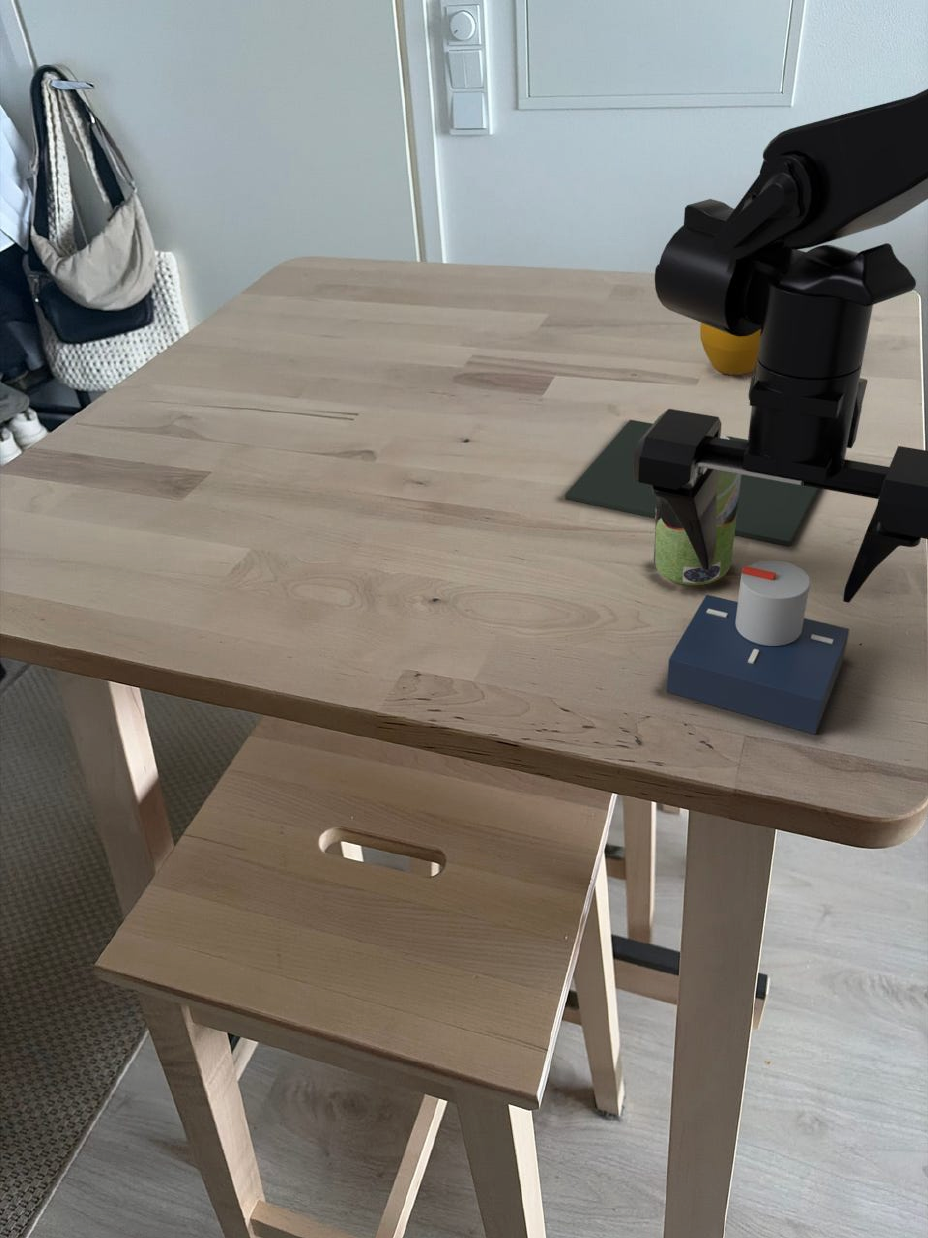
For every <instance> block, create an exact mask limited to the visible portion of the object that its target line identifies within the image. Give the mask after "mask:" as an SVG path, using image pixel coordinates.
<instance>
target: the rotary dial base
mask: <svg viewBox="0 0 928 1238" xmlns="http://www.w3.org/2000/svg"><path fill="white" fill-rule="evenodd" d="M737 606H738V601H735V600H731V599H728V598H727V599H726V598H723V597H719V596H714V595H711V594H706V595H705V596H704V598H703V599H702V601H701V603H700V605H699V607H698V608H697V610H696V612H695V613H694V615H693V616H692V619H691V620H690V622H689V624H688V626H687V627H686V629H685V631H684V632H683V634H682V636H681V638H680V639H679V640H678V643H677V644H676V646H675V647H674V649H673V651H672V653H671V654H670V656H669V658H668V666H667V667H668V668H667V680H666V693H668V694H672V695H676V696H679V697H682V698H685V699H690V700H693V701H696V702H700V703H703V704H707V705H710V706H714V707H717V708H721V709H724V710H728V711H731V712H735V713H738V714H741V715H744V716H748V717H752V718H756V719H759V720H763V721H766V722H770V723H772V724H777V725H779V726H783V727H787V728H790V729H793V730H797V731H801V732H804V733H808V734H811V735H816V734H817V730H818V728H819V726H820V723H821V720H822V718H823V715H824V712H825V710H826V707H827V704H828V702H829V699H830V697H831V694H832V691H833V689H834V687H835V683H836V681H837V678H838V675H839V672H840V670H841V668H842V665H843V662H844V658H845V653H846V647H847V643H848V638H849V634H850V628H847V627H845V626H844V627H843V626H840V625H835V624H831V623H827V622H823V621H819V620H818V621H817V620H815V619H811V618H806V617H804V621H803V627H802V632H801V634H800V636H799V637H798V638H797V639H796V640H795V641H793V642H791V643H789V644H786V645H781V646H766V645H761V644H757V643H754V642H751V641H749V640H748V639H746V638H744V637H743V636H742V635H741V634H740V633H739V632H738V630H737V628H736V624H735V622H736V614H737Z"/></svg>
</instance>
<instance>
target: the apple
mask: <svg viewBox="0 0 928 1238" xmlns="http://www.w3.org/2000/svg"><path fill="white" fill-rule="evenodd" d="M699 330H700V331H699V338H700V341H701V344H702V348H703V350H704V353H705V354H706V356H707V359H708V361H709V362H710V364H711V365H712V367H713V369H715V370H716V371H717V372H719V373H721V374H722V375H732V376H734V375H742V374H749V373H753V371H754V368H755V365H756V361H757V358H758V350H759V341H760V333H761V329H760V330H758V331H757V332H755V333H753V334H751V335H749V336H741V337H738V336H735V335H731V334H729V333H726V332H724V331H721V330H719V329H716V328H714V327H711V326H709V325H706V324H703V323H701V322H700V326H699Z"/></svg>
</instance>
